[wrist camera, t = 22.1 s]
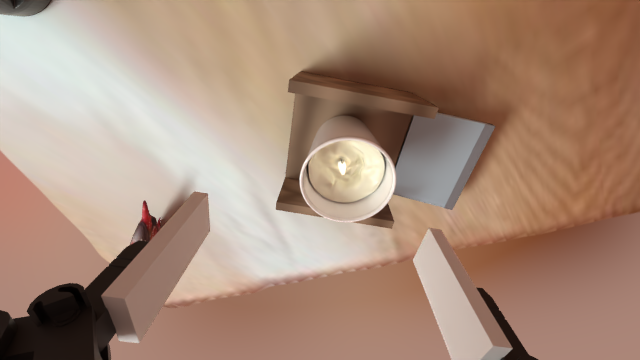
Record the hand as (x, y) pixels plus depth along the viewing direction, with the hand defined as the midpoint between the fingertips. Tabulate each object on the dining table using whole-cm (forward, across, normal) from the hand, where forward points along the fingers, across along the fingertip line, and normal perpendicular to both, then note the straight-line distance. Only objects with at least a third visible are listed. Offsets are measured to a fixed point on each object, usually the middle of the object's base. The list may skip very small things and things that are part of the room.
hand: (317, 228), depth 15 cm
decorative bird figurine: (+26, -27, -25) cm, 45 cm away
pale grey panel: (+22, +12, -2) cm, 25 cm away
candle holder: (+22, +3, -2) cm, 23 cm away
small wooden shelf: (+25, +4, -3) cm, 26 cm away
